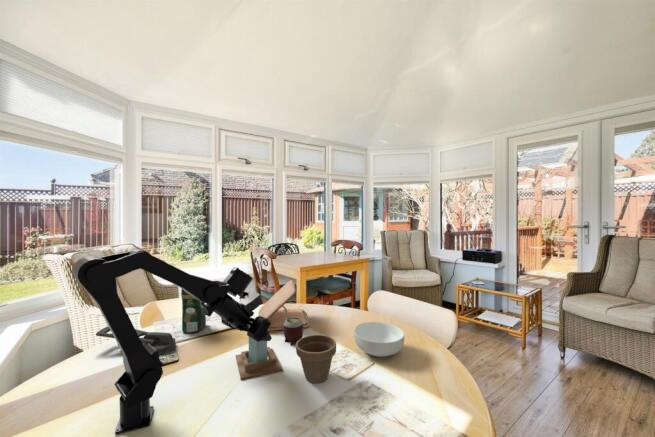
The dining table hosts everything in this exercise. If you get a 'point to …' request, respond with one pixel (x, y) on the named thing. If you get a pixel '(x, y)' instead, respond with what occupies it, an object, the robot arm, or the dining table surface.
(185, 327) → the coffee jar
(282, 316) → the case
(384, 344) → the cereal bowl
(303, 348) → the flower pot
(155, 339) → the zipper pull
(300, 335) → the mate gourd
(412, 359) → the dining table surface
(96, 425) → the dining table surface
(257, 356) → the pale blue rectangular block
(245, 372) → the picture frame
